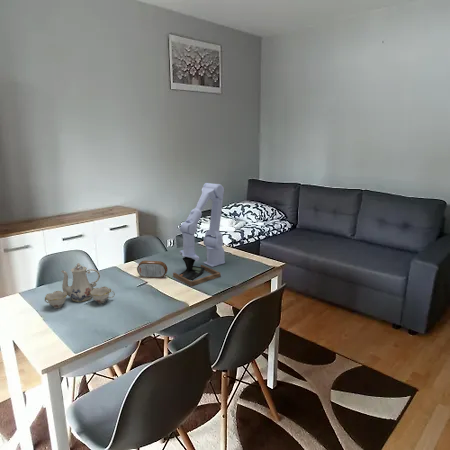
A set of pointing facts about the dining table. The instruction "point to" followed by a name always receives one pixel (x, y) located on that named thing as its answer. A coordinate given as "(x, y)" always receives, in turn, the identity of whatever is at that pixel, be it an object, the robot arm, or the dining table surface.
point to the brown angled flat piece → (201, 280)
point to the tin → (152, 269)
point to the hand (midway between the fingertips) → (189, 270)
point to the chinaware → (78, 289)
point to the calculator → (192, 273)
